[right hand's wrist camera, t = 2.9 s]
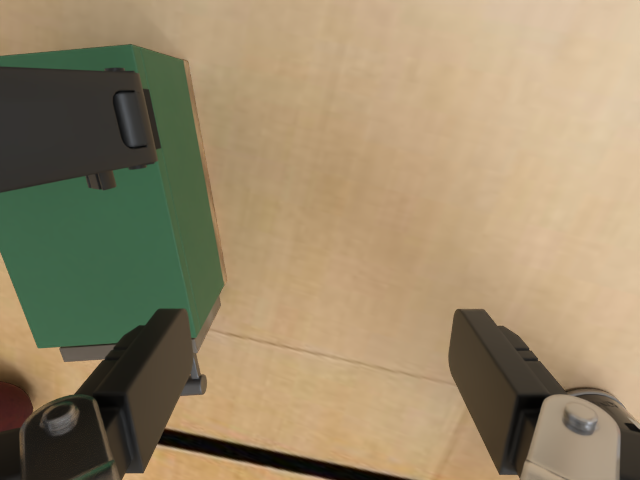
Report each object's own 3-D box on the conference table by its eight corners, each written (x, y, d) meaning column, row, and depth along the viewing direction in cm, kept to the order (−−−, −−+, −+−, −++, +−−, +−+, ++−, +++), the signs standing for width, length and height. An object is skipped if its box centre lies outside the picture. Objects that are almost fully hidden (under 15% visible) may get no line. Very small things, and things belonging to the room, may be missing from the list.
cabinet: (227, 280, 34) (197, 338, 26) (106, 289, 34) (37, 349, 26) (188, 61, 28) (131, 43, 20) (41, 73, 28) (-75, 62, 20)
